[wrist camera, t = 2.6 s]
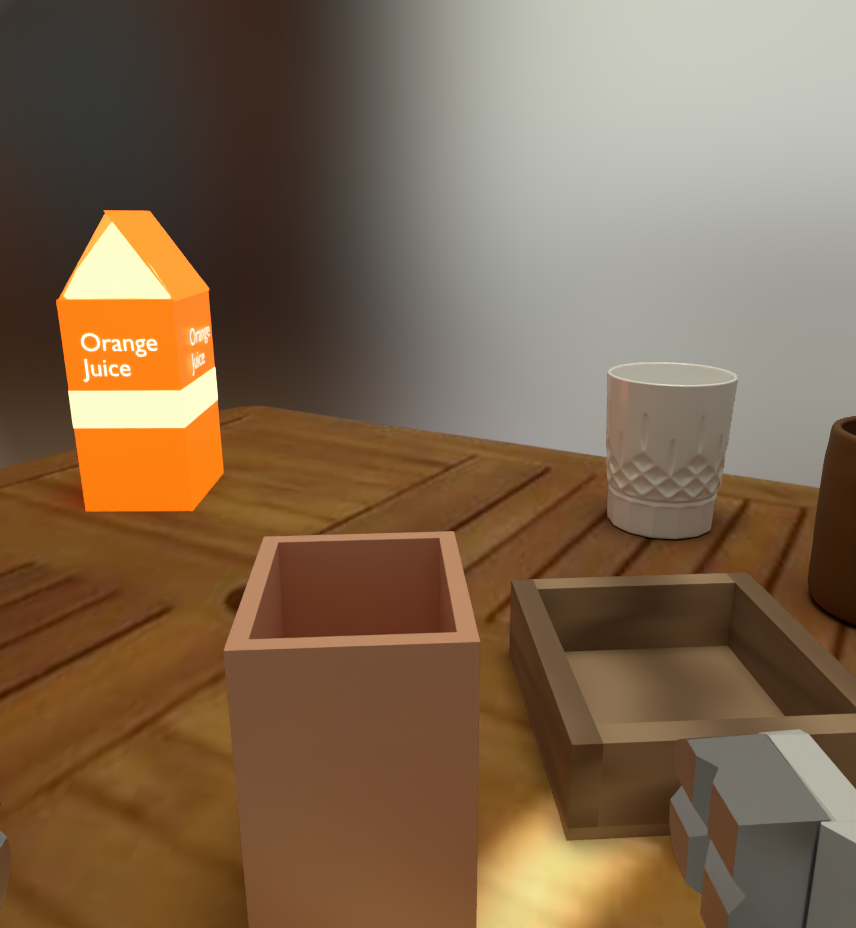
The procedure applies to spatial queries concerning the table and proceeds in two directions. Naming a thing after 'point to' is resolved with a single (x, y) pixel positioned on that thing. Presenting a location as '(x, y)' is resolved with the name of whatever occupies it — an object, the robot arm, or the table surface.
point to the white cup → (666, 446)
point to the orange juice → (140, 370)
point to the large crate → (662, 686)
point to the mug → (836, 527)
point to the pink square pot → (356, 732)
